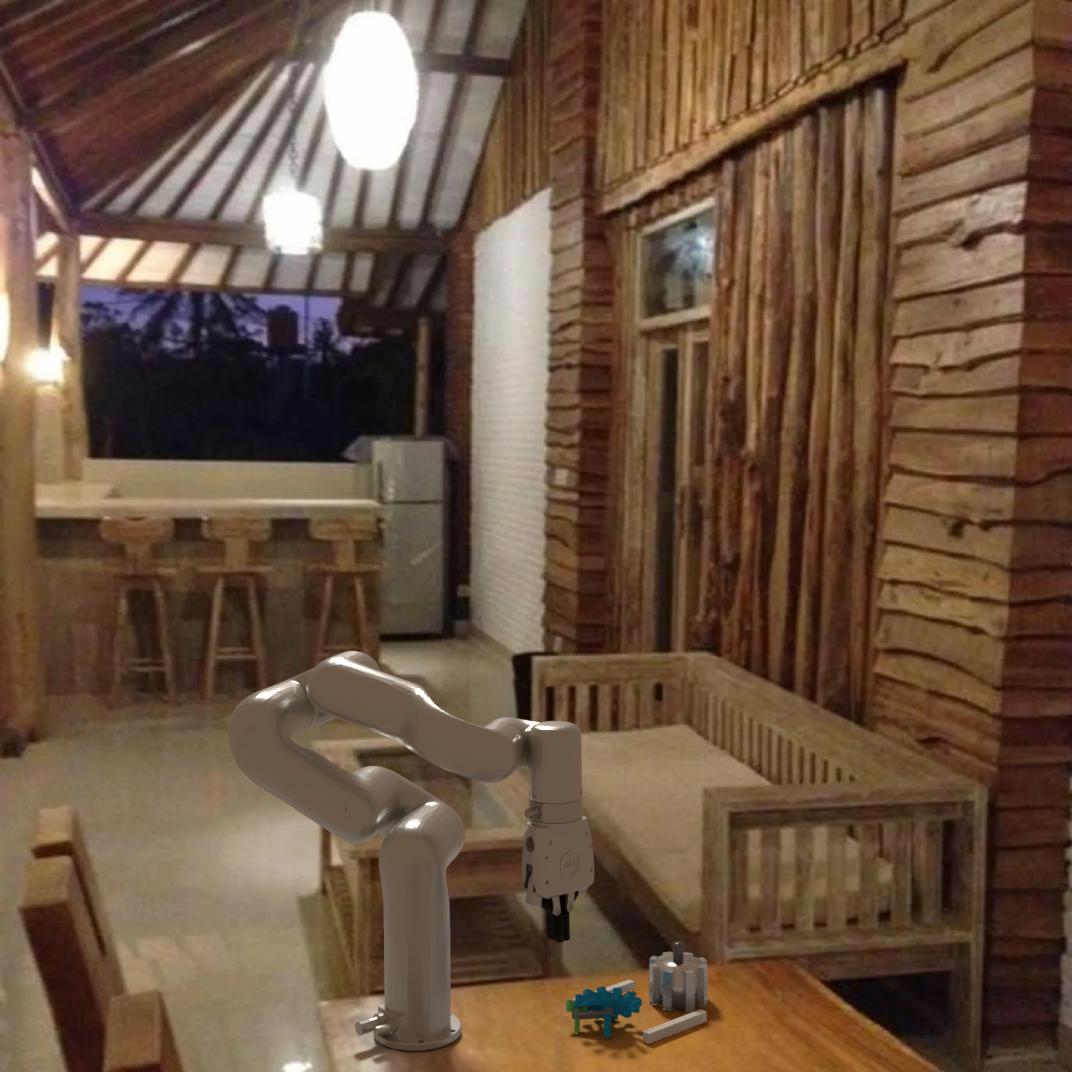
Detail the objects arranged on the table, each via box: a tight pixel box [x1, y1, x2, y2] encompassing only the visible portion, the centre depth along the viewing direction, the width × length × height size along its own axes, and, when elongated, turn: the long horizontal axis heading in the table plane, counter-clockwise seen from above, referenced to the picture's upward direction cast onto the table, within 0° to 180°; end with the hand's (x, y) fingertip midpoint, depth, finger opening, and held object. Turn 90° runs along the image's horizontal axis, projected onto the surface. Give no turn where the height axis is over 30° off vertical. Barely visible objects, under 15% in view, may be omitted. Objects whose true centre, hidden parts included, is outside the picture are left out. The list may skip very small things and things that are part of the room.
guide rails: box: [571, 979, 708, 1044], centre depth 198 cm, size 12×16×2 cm
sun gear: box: [648, 940, 709, 1013], centre depth 204 cm, size 9×9×9 cm
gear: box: [565, 985, 643, 1038], centre depth 192 cm, size 11×6×10 cm
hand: (558, 938), depth 187 cm, fingers closed
